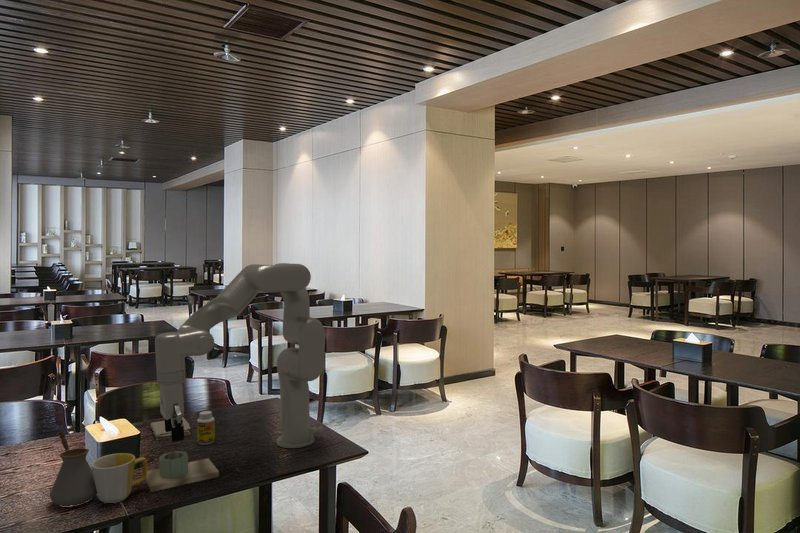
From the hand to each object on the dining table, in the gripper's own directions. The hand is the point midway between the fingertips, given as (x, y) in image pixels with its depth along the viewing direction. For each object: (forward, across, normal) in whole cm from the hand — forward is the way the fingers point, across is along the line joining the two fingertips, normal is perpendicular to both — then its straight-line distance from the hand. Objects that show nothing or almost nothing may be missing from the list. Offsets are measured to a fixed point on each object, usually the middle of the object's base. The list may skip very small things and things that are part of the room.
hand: (174, 435), depth 162 cm
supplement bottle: (+13, -25, +14) cm, 31 cm away
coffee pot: (+12, -4, -26) cm, 29 cm away
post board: (+12, 0, +1) cm, 12 cm away
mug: (+12, +5, -15) cm, 20 cm away
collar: (+11, 0, -1) cm, 11 cm away
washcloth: (+13, -44, +6) cm, 47 cm away
